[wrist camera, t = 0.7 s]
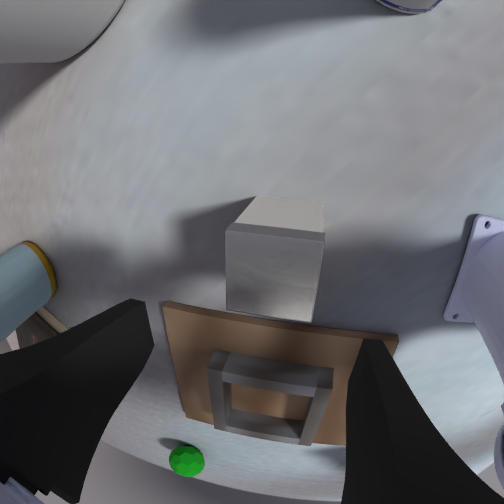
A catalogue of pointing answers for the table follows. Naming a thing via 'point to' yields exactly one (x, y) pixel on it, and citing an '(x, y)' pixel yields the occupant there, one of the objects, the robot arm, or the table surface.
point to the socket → (264, 373)
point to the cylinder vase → (51, 28)
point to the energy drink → (410, 5)
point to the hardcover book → (38, 328)
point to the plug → (275, 258)
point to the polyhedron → (186, 461)
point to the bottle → (23, 285)
